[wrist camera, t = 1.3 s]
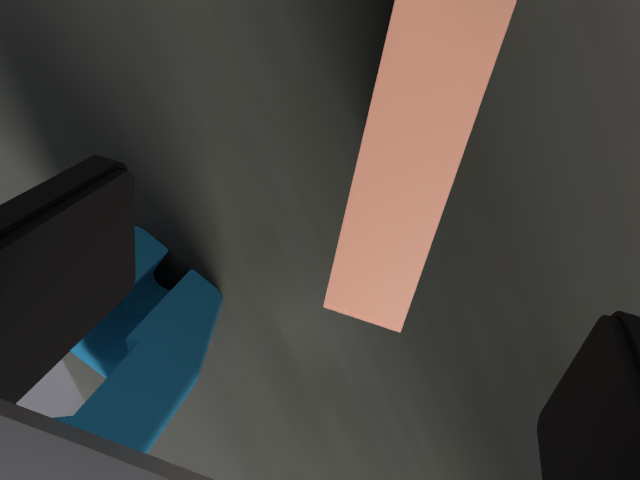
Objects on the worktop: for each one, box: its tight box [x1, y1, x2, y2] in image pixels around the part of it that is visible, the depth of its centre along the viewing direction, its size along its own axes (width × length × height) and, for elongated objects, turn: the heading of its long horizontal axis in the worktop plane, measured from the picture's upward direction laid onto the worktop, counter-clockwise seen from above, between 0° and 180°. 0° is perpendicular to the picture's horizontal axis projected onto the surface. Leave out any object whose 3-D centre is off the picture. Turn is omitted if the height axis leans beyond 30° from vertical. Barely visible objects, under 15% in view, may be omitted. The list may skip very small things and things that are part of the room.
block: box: [15, 226, 223, 454], centre depth 29 cm, size 12×5×20 cm, turn 52°
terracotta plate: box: [323, 0, 517, 332], centre depth 21 cm, size 3×12×12 cm, turn 170°
